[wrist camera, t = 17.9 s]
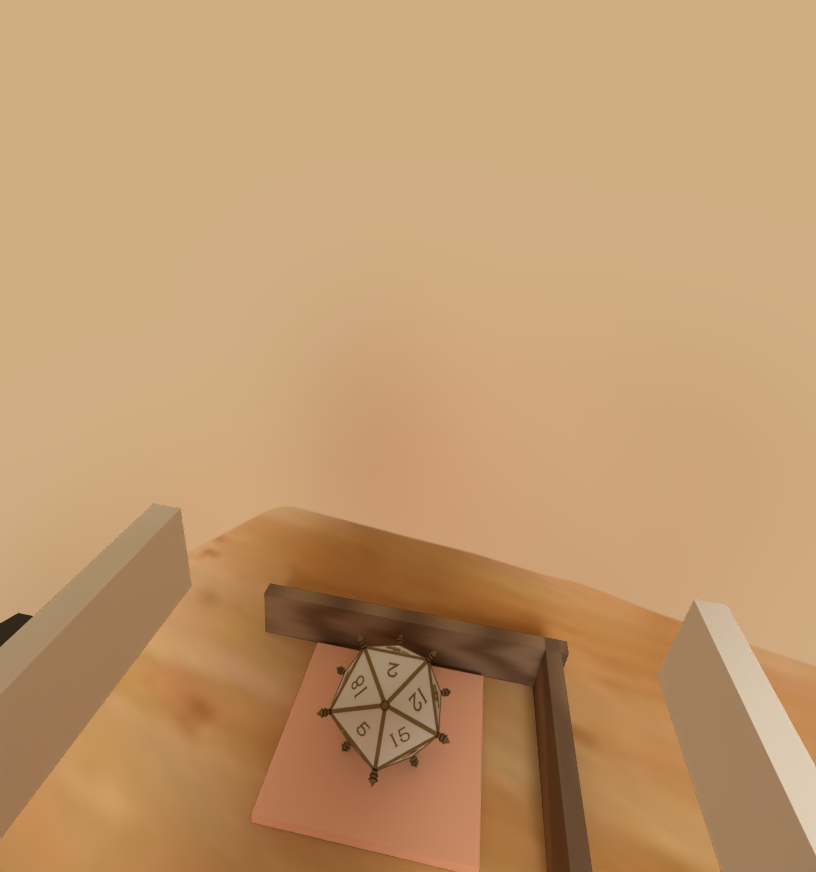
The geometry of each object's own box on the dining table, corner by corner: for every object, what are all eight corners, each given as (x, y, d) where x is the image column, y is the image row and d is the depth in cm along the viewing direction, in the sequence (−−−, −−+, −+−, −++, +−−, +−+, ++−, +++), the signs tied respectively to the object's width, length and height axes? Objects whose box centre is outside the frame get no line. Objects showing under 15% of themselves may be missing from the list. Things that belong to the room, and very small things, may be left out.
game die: (353, 759, 38) (300, 639, 37) (454, 704, 39) (404, 588, 39) (366, 854, 29) (296, 698, 28) (495, 778, 30) (431, 629, 30)
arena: (553, 678, 43) (566, 641, 40) (585, 947, 28) (609, 910, 25) (271, 621, 45) (270, 583, 43) (158, 841, 30) (148, 799, 28)
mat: (481, 684, 41) (483, 676, 41) (476, 876, 30) (479, 868, 29) (317, 650, 43) (317, 642, 42) (251, 822, 31) (251, 813, 31)
